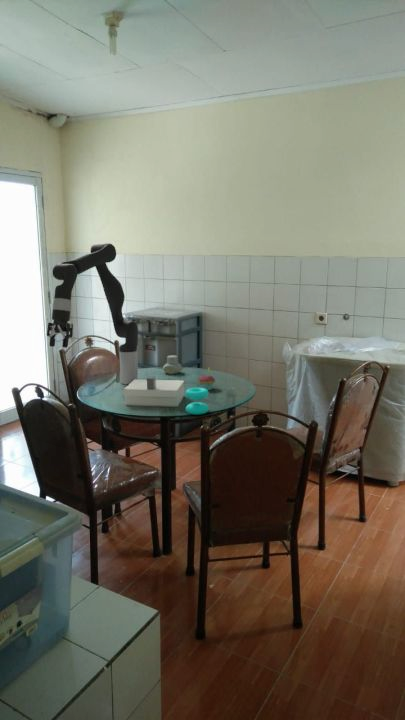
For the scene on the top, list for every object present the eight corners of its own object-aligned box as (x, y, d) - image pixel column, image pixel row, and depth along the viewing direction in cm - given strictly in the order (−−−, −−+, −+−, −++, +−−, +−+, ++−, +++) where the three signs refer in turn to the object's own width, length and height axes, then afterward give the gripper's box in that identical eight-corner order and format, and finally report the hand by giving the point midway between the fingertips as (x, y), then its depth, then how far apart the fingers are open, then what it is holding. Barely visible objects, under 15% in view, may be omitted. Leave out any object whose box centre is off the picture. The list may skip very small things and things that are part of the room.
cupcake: (218, 388, 259) (218, 365, 257) (207, 392, 253) (206, 368, 251) (206, 386, 265) (205, 363, 263) (194, 389, 259) (194, 366, 256)
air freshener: (184, 372, 296) (183, 355, 294) (178, 375, 289) (178, 358, 287) (167, 371, 300) (166, 354, 298) (160, 374, 293) (160, 357, 291)
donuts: (186, 393, 215) (184, 387, 224) (186, 416, 217) (184, 409, 226) (210, 392, 216) (206, 386, 226) (210, 414, 218) (207, 408, 228)
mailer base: (135, 395, 250) (134, 381, 248) (184, 396, 246) (183, 382, 245) (125, 405, 233) (124, 390, 232) (177, 406, 230) (177, 391, 228)
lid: (134, 385, 249) (133, 369, 247) (184, 386, 245) (183, 370, 244) (123, 395, 231) (122, 378, 229) (177, 397, 227) (176, 379, 226)
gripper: (79, 311, 221) (76, 348, 221) (58, 310, 230) (54, 346, 229) (65, 308, 215) (62, 347, 215) (44, 308, 223) (40, 345, 223)
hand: (58, 347), depth 222 cm, fingers open, 8 cm apart
